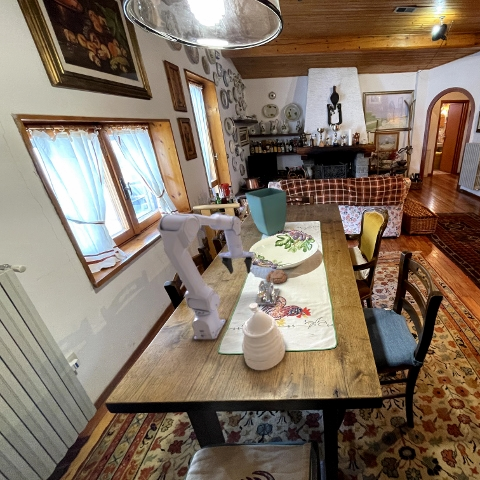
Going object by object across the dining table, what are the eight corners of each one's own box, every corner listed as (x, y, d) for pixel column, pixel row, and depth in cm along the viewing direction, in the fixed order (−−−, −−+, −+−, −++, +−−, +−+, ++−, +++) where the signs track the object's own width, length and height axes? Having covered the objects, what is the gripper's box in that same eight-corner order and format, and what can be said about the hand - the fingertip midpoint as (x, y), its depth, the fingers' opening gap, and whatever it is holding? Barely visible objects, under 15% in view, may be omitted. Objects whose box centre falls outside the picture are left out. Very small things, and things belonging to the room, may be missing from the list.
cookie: (277, 286, 116) (276, 281, 115) (262, 280, 122) (261, 274, 121) (292, 277, 123) (291, 271, 122) (277, 270, 129) (276, 265, 128)
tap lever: (263, 298, 97) (262, 292, 97) (256, 298, 98) (256, 292, 97) (270, 288, 108) (270, 282, 108) (264, 288, 108) (264, 283, 108)
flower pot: (266, 239, 166) (260, 197, 155) (251, 232, 180) (244, 193, 168) (290, 230, 178) (286, 191, 167) (275, 224, 192) (270, 187, 180)
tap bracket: (274, 305, 104) (272, 290, 101) (255, 305, 104) (252, 290, 101) (279, 290, 113) (277, 276, 110) (261, 290, 114) (259, 277, 111)
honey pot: (237, 353, 82) (226, 309, 75) (270, 332, 90) (263, 290, 83) (258, 378, 74) (248, 331, 66) (293, 351, 82) (287, 307, 74)
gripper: (254, 239, 107) (259, 267, 113) (221, 240, 108) (227, 268, 114) (249, 246, 101) (255, 275, 106) (214, 247, 102) (221, 276, 107)
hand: (240, 272), depth 110 cm, fingers open, 7 cm apart
